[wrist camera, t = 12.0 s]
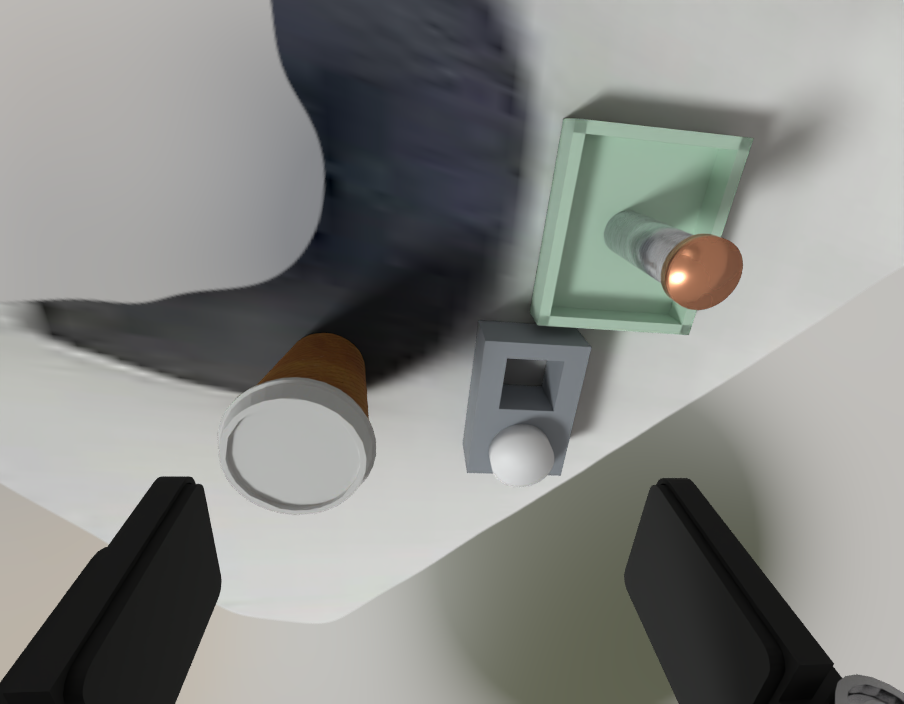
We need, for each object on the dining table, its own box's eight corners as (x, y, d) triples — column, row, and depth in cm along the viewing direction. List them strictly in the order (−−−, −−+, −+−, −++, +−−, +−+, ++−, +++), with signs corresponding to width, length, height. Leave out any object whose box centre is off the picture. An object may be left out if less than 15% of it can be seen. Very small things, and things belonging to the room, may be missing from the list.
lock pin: (605, 202, 35) (681, 234, 25) (658, 207, 35) (753, 240, 25) (593, 256, 37) (660, 307, 27) (643, 261, 37) (727, 312, 27)
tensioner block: (478, 320, 39) (488, 350, 34) (575, 326, 40) (599, 356, 35) (462, 443, 44) (469, 485, 39) (548, 446, 45) (566, 488, 40)
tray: (563, 118, 33) (575, 118, 30) (728, 136, 34) (753, 138, 32) (529, 312, 39) (537, 325, 36) (671, 321, 40) (688, 335, 37)
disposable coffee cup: (396, 327, 39) (389, 408, 28) (372, 426, 42) (358, 530, 32) (273, 300, 37) (215, 375, 26) (260, 405, 41) (204, 508, 30)
